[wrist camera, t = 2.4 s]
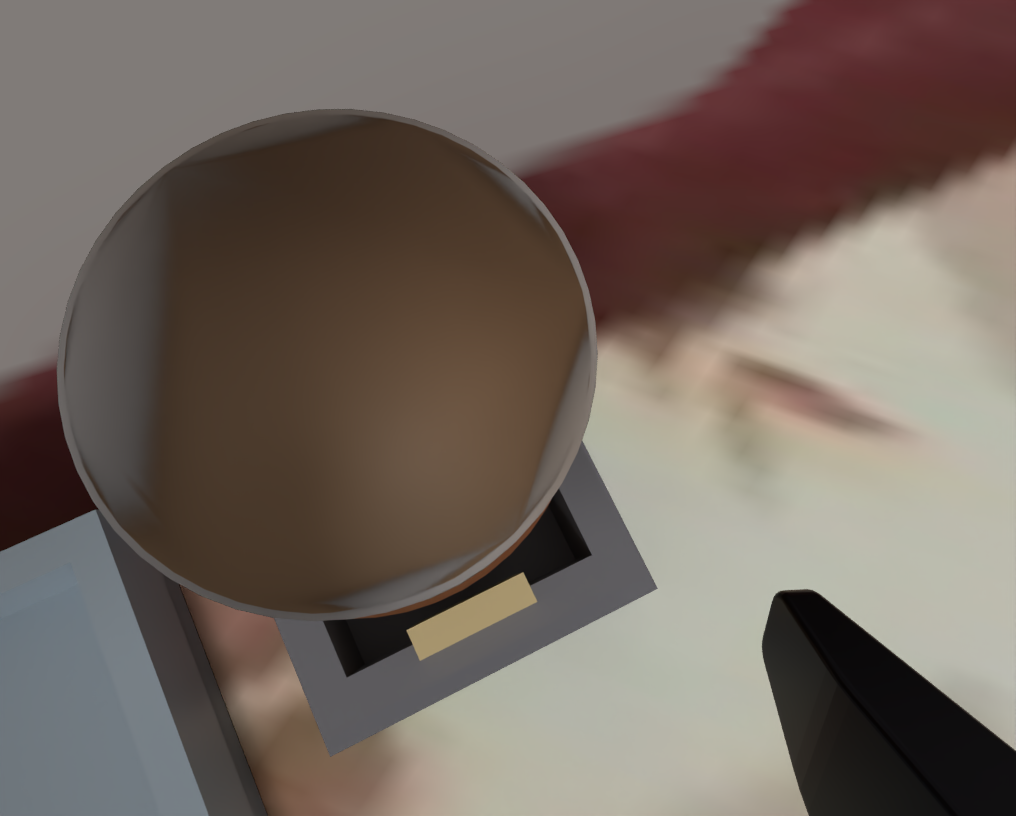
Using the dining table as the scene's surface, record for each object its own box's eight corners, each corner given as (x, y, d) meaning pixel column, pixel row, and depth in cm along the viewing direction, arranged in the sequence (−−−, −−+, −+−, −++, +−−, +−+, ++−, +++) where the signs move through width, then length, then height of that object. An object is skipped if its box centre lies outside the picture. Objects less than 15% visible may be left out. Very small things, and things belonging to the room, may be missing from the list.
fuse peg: (453, 635, 17) (414, 747, 5) (295, 536, 17) (-71, 431, 6) (548, 475, 18) (697, 265, 6) (397, 384, 18) (267, 20, 6)
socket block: (642, 588, 19) (695, 588, 14) (341, 742, 18) (299, 794, 13) (502, 310, 20) (510, 234, 16) (216, 436, 19) (140, 392, 15)
